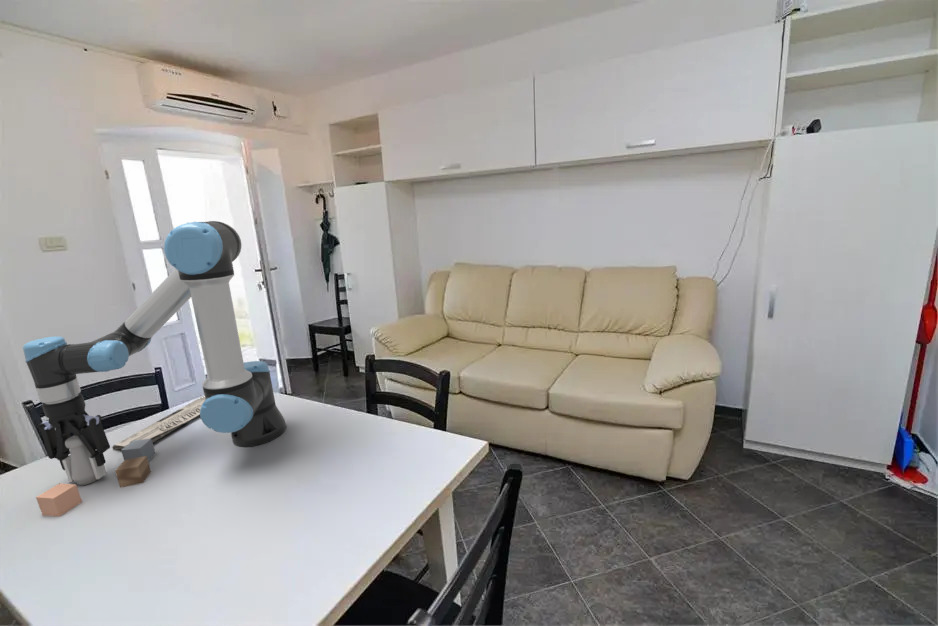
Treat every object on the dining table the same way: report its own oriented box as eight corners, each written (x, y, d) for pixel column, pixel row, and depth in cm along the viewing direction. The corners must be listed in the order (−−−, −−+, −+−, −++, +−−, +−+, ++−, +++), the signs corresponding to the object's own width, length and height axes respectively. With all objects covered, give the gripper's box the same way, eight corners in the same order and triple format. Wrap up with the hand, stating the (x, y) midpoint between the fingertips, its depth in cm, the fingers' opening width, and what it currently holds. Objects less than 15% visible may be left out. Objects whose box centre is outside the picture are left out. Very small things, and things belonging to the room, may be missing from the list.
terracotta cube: (82, 502, 102) (76, 484, 101) (59, 516, 97) (53, 498, 96) (65, 500, 103) (59, 483, 102) (42, 515, 98) (35, 497, 97)
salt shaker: (86, 488, 107) (71, 443, 104) (68, 486, 108) (53, 442, 105) (109, 474, 113) (95, 431, 109) (92, 472, 114) (78, 430, 111)
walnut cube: (151, 472, 113) (146, 455, 111) (142, 483, 108) (137, 466, 107) (129, 476, 111) (124, 459, 110) (120, 487, 107) (115, 470, 105)
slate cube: (155, 453, 122) (151, 438, 120) (144, 463, 117) (140, 448, 115) (137, 455, 121) (133, 440, 120) (125, 466, 116) (120, 450, 115)
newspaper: (203, 400, 157) (201, 391, 156) (231, 401, 155) (229, 392, 154) (108, 453, 124) (105, 443, 123) (142, 456, 121) (139, 445, 120)
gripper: (112, 387, 109) (135, 465, 115) (34, 395, 107) (62, 473, 113) (90, 400, 102) (115, 482, 107) (6, 408, 100) (37, 491, 106)
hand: (88, 477), depth 110 cm, fingers closed on salt shaker, 6 cm apart
